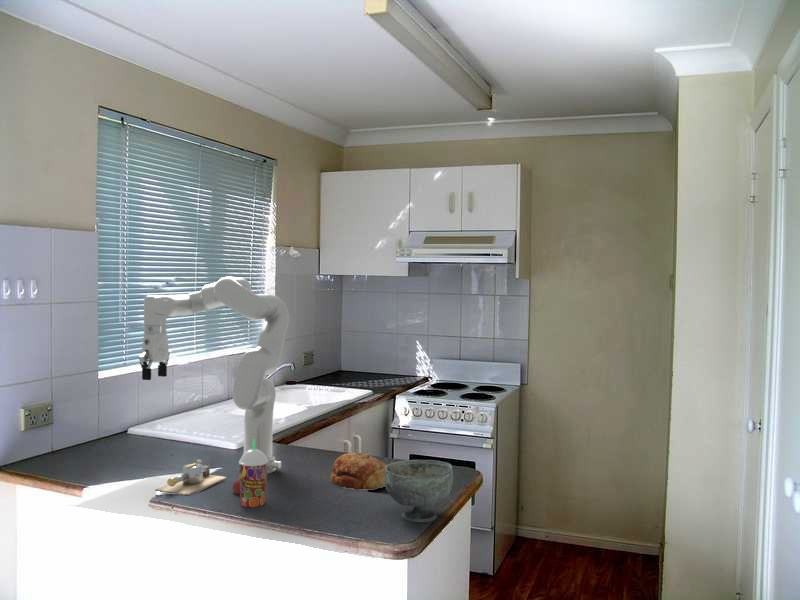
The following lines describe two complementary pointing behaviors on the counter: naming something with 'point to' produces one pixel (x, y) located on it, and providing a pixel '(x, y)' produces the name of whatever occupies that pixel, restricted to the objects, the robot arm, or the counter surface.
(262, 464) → the smoothie
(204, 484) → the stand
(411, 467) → the bowl
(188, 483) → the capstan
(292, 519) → the counter surface
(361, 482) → the bread
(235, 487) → the fruit
